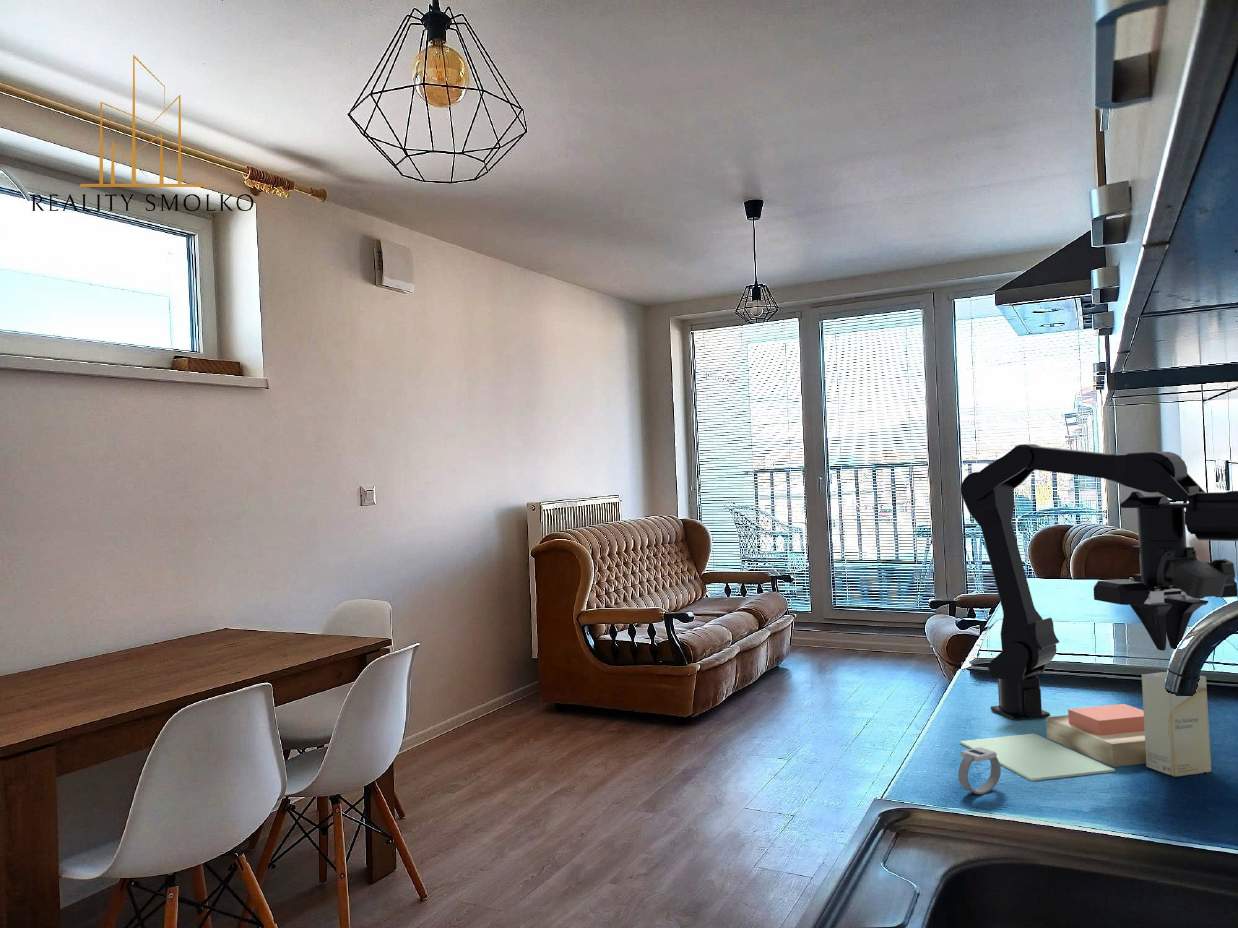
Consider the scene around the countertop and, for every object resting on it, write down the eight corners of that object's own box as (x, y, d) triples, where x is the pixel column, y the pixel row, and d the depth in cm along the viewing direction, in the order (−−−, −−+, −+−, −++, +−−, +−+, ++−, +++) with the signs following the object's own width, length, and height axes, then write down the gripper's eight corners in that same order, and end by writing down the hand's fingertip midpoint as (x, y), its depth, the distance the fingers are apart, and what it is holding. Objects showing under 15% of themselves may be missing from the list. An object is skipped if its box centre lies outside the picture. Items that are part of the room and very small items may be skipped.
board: (1047, 737, 124) (1046, 717, 124) (1113, 730, 126) (1112, 710, 126) (1113, 766, 111) (1111, 743, 111) (1186, 758, 113) (1185, 736, 113)
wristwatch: (988, 783, 107) (986, 743, 107) (1007, 790, 105) (1005, 749, 105) (953, 793, 105) (951, 753, 105) (972, 800, 102) (969, 759, 102)
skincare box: (1174, 778, 106) (1169, 681, 107) (1144, 767, 111) (1139, 673, 111) (1213, 771, 108) (1208, 676, 108) (1182, 760, 112) (1177, 668, 113)
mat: (959, 743, 123) (959, 740, 123) (1034, 735, 125) (1034, 733, 125) (1031, 780, 108) (1031, 778, 108) (1114, 771, 110) (1114, 769, 110)
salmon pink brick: (1099, 735, 115) (1098, 720, 115) (1068, 723, 121) (1068, 709, 121) (1157, 729, 116) (1156, 714, 116) (1124, 717, 122) (1123, 703, 122)
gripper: (1148, 547, 111) (1155, 666, 111) (1270, 539, 114) (1277, 655, 114) (1088, 541, 122) (1094, 650, 122) (1200, 534, 125) (1206, 640, 125)
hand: (1168, 649), depth 120 cm, fingers closed
